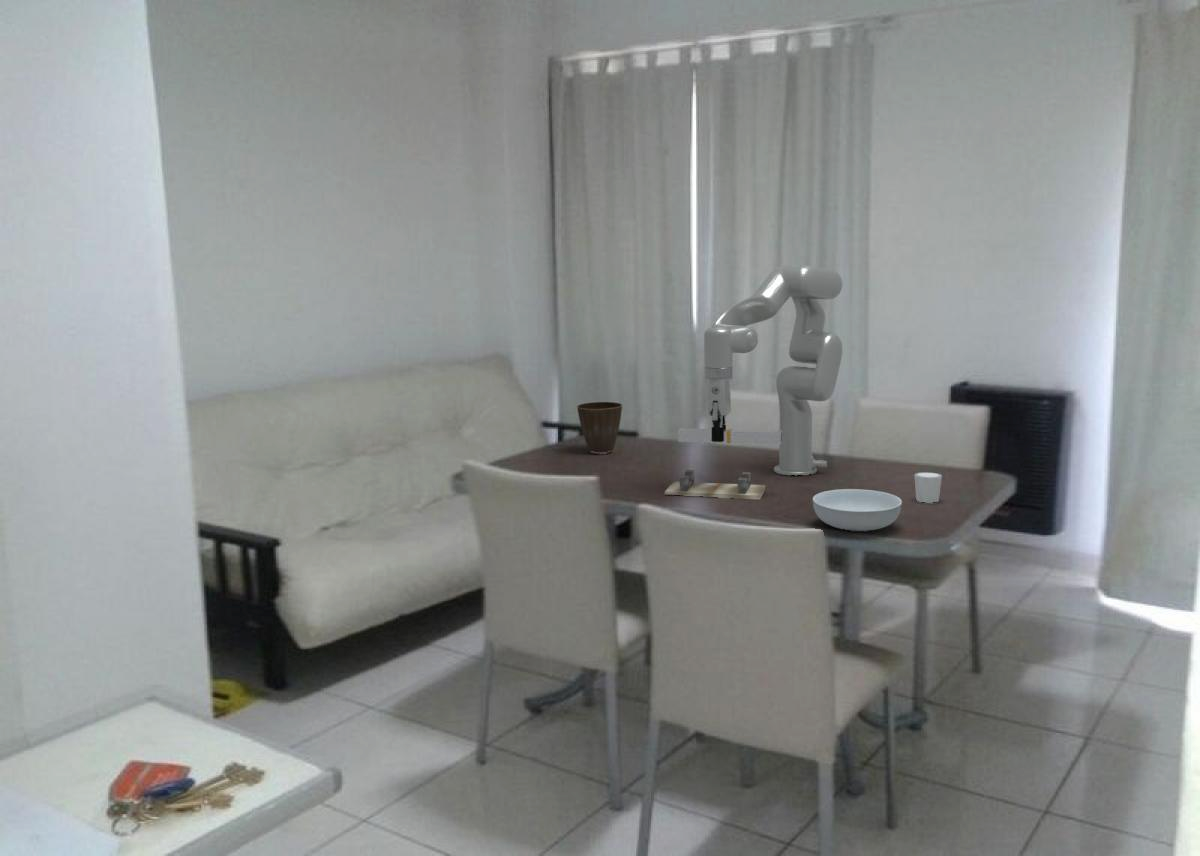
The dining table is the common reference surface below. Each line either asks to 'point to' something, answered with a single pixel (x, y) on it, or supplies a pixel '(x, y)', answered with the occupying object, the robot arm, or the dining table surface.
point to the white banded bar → (731, 436)
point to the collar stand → (716, 488)
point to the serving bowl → (857, 509)
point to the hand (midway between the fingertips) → (718, 439)
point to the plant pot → (600, 424)
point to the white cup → (927, 487)
